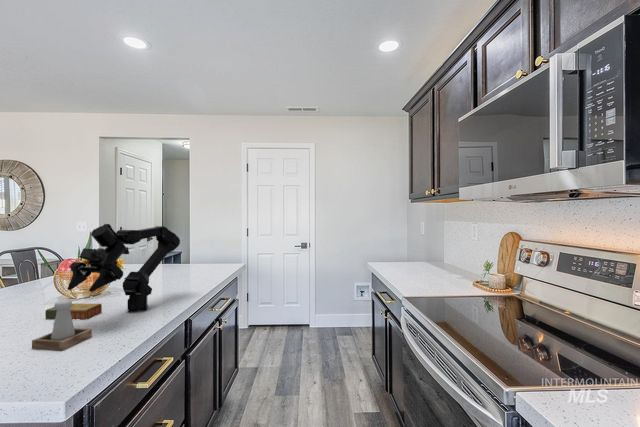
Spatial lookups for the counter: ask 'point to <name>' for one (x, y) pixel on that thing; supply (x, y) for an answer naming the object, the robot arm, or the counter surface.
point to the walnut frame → (57, 345)
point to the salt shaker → (63, 321)
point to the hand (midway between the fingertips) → (79, 290)
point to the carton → (78, 311)
